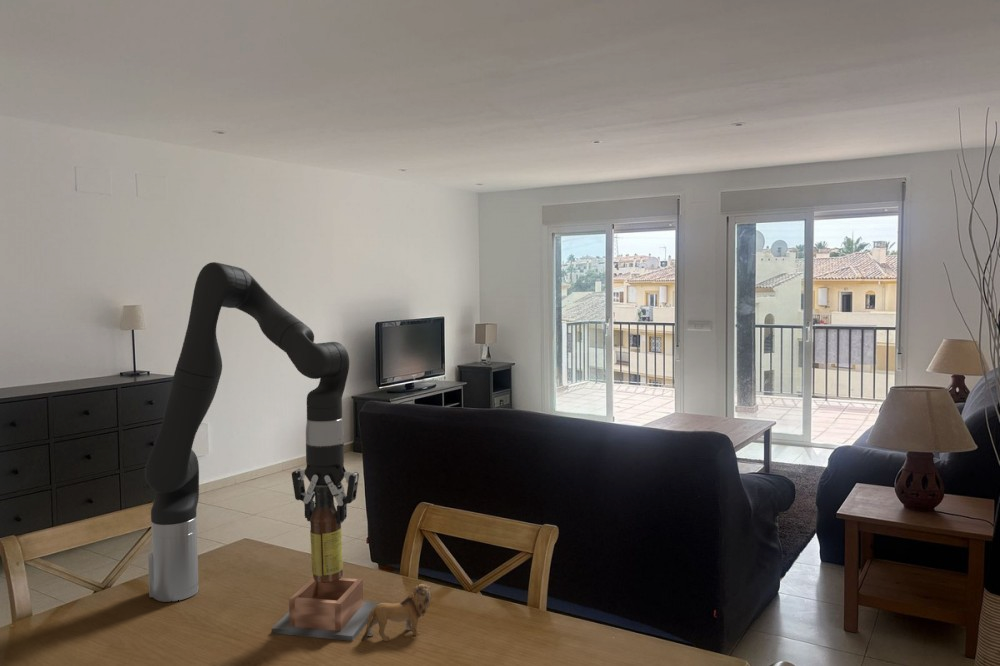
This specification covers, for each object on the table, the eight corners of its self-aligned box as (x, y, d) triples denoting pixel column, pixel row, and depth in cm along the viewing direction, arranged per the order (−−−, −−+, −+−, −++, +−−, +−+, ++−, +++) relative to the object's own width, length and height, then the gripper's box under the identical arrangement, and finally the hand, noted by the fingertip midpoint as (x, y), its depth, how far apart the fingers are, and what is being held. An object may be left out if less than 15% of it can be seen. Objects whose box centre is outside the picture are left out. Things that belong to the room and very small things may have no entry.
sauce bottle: (346, 572, 151) (346, 480, 150) (337, 585, 145) (336, 488, 144) (316, 571, 152) (316, 478, 151) (305, 583, 146) (305, 487, 144)
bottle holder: (271, 633, 143) (271, 601, 143) (305, 600, 158) (304, 571, 158) (352, 641, 140) (352, 608, 140) (379, 607, 155) (378, 577, 155)
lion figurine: (425, 620, 149) (425, 578, 148) (436, 631, 144) (436, 587, 144) (357, 637, 142) (356, 592, 141) (365, 649, 137) (365, 603, 137)
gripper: (283, 442, 144) (284, 525, 145) (351, 446, 142) (352, 529, 143) (300, 435, 152) (301, 513, 153) (365, 438, 149) (365, 517, 150)
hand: (325, 521), depth 148 cm, fingers closed on sauce bottle, 6 cm apart
